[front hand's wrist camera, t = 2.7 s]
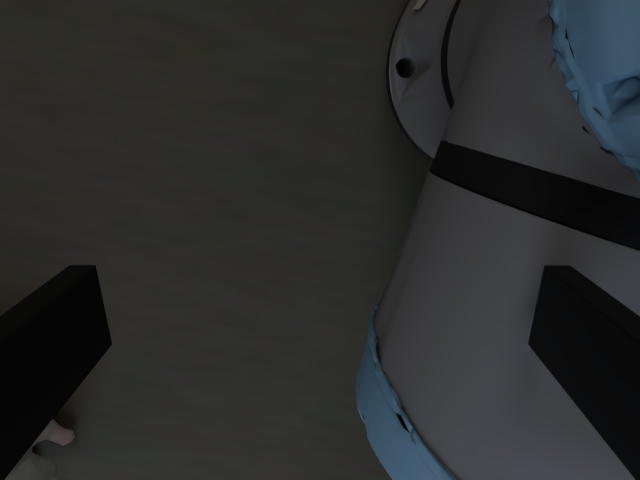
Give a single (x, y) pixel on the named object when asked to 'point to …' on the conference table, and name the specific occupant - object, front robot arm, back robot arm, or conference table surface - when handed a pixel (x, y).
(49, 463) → the toy
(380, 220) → the conference table surface
